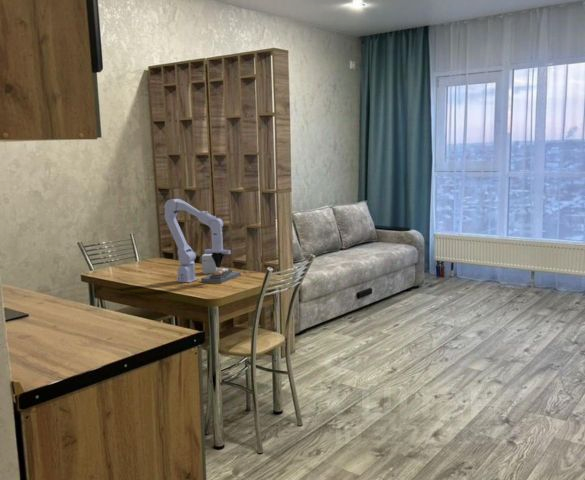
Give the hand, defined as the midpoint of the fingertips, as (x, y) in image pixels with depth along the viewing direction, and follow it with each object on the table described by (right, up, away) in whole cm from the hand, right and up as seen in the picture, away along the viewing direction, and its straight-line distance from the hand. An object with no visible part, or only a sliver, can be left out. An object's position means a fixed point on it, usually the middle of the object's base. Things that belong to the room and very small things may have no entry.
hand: (218, 267), depth 300 cm
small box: (-8, -5, +25) cm, 26 cm away
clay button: (0, -4, 0) cm, 4 cm away
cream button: (+1, -3, +6) cm, 7 cm away
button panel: (+1, -7, +7) cm, 9 cm away
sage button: (+2, -3, +13) cm, 14 cm away
